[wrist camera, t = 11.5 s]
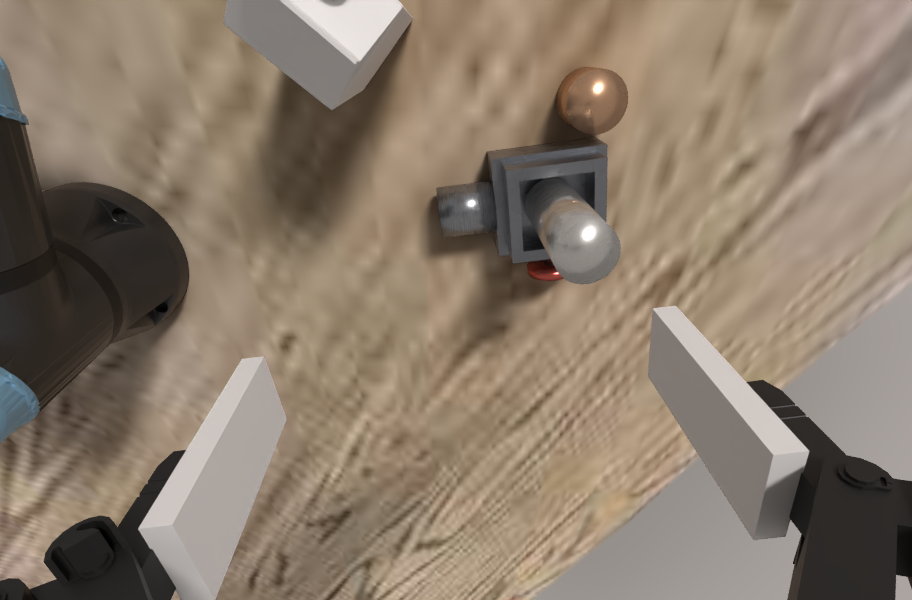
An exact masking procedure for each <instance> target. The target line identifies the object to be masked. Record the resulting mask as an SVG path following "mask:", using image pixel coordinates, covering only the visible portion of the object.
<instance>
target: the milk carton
mask: <svg viewBox="0 0 912 600" xmlns="http://www.w3.org/2000/svg"><path fill="white" fill-rule="evenodd" d="M412 20H413V17H412V16H411V15H410V14H409V12H408V11H407V10H406V9H405V7H404V6H403V5H402V4H401V3H400V2H399V1H398V0H227V5H226V10H225V16H224V22H223V23H224V24H225V25H226V26H227V27H228V28H229V29H230V30H231V31H233V32H234V33H235V34H236V35H238V36H239V37H240V38H241V39H243V40H244V41H245V42H246V43H248V44H249V45H250V46H251V47H253V48H254V49H255V50H256V51H258V52H259V53H260V54H261V55H263V56H264V57H265V58H266V59H268V60H269V61H270V62H271V63H273V64H274V65H275V66H276V67H278V68H279V69H280V70H281V71H283V72H284V73H285V74H286V75H288V76H289V77H290V78H291V79H293V80H294V81H295V82H296V83H298V84H299V85H300V86H301V87H303V88H304V89H305V90H306V91H308V92H309V93H310V94H311V95H313V96H314V97H315V98H316V99H318V100H319V101H320V102H322V103H323V104H324V105H325V106H327V107H328V108H329V109H331V110H333V109H335V108H336V107H338V106H339V105H341V104H343V103H344V102H346V101H347V100H349V99H350V98H352V97H353V96H355V95H357V94H358V93H360V92H361V91H363V90H364V89H365V87H366V86H367V85H368V83H369V82H370V80H371V79H372V77H373V76H374V74H375V73H376V72H377V70H378V69H379V67H380V66H381V64H382V63H383V61H384V60H385V59H386V57H387V56H388V54H389V53H390V51H391V50H392V48H393V47H394V46H395V44H396V43H397V41H398V40H399V38H400V37H401V35H402V34H403V33H404V31H405V30H406V28H407V27H408V25H409V24H410V22H411V21H412Z"/></svg>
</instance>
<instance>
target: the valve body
mask: <svg viewBox="0 0 912 600" xmlns="http://www.w3.org/2000/svg"><path fill="white" fill-rule="evenodd" d="M487 157H488V168H489V180H490V181H485V182H477V183H469V184H462V185H454V186H446V187H438V188H436V189H437V200H438V208H439V216H440V223H441V230H442V236H443V238H447V237H455V236H463V235H471V234H478V233H486V232H494V236H495V244H496V247H497V251H498V254H499V256H504V255H510V257H511V260H512V263H513V264H514V263H522V262H528V264H527V268H528V274H529V276H530V277H532V278H534V279H537V280H543V281H554V280H560V279H564V278H563V277H562V276H561V275H560V274H559V273H558V271H557V270H556V268H555V266H554V264H553V262H552V260H551V259H550V257H549V255H548V253H547V251H546V249H545V248H544V246H543V244H542V242H541V240H540V238H539V236H538V235H537V233H536V231H535V229H534V227H533V225H532V223H531V222H530V220H529V218H528V216H527V214H526V210H525V201H526V197H527V195H528V193H529V191H530V190H531V189H532V187H533V186H534V185H536V184H537V183H538V182H540V181H542V180H545V179H549V178H557V179H561V180H564V181H566V182H567V183H568V184H569V185H570V186H571V187H572V188H573V189H574V190H575V191H576V192H577V193H578V194H579V195H580V196H581V197H582V198H583V199H584V200H585V201H586V202H587V203H588V204H589V205H590V206H591V207H592V208H593V210H594V211H595V212H596V213H597V214H598V215H599V216H600V217H601V218H602V219H603V220H604V221H605V222H606V208H607V144H606V143H604V142H602V141H601V140H599V139H597V138H596V137H595V138H588V139H580V140H572V141H565V142H557V143H549V144H542V145H534V146H526V147H519V148H511V149H503V150H496V151H488V152H487Z"/></svg>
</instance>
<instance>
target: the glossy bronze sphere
mask: <svg viewBox="0 0 912 600" xmlns="http://www.w3.org/2000/svg"><path fill="white" fill-rule="evenodd" d="M556 104H557V110H558V112H559V114H560V116H561V118H562V119H563V120H564V121H565V122H566V123H567V124H569V125H571V126H572V127H574V128H576V129H577V130H579V131H581V132H583V133H585V134H591V135H596V134H601V133H604V132H607V131H609V130H610V129H612V128H613V127H614V126H616V125H617V123H618V122H619V121H620V120H621V119H622V117H623V115H624V113H625V111H626V108H627V104H628V91H627V87H626V85H625V83H624V81H623V79H622V78H621V77H620V76H619V75H618V74H617V73H615V72H613V71H611V70H607V69H601V68H594V67H583V68H579V69H576V70H574V71H573V72H571V73H570V74H569V75H567V76H566V78H565V79H564V80H563V81H562V83H561V85H560V87H559V89H558V92H557V97H556Z"/></svg>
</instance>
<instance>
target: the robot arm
mask: <svg viewBox="0 0 912 600" xmlns="http://www.w3.org/2000/svg"><path fill="white" fill-rule="evenodd" d="M25 125H29V123H28V119H27V117H26V116H25V115H24V114H22V112H21V109H20V105H19V102H18V99H17V95H16V92H15V89H14V85H13V82H12V79H11V75H10V72H9V70H8V67H7V65H6V64H5V62H4V61H3V59H2V58H1V57H0V443H1V442H2V441H3V440H5V439H6V438H7V437H8V436H9V435H11V434H12V433H13V432H14V431H16V430H17V429H18V428H19V427H21V426H22V425H25V424H27V423H28V422H30V421H31V420H33V419H34V418H35V417H36V416H37V414H38V413H39V412H40V411H41V410H42V409H43V408H44V407H45V406H46V405H47V404H48V403H49V402H50V401H51V400H52V399H53V398H54V397H55V396H56V395H58V394H59V393H60V392H61V391H62V390H63V389H64V388H65V387H66V386H67V385H68V384H69V383H70V382H71V381H72V380H73V379H74V378H75V377H76V376H77V375H78V374H79V373H80V372H81V371H82V370H83V369H84V368H85V367H87V366H88V365H89V364H90V363H91V362H92V361H93V360H94V359H95V358H96V357H97V356H98V355H99V354H100V353H101V352H102V351H103V350H104V349H105V348H106V347H107V346H108V345H109V344H111V343H114V342H116V341H119V340H122V339H125V338H127V337H130V336H133V335H136V334H138V333H141V332H144V331H146V330H149V329H151V328H153V327H154V326H156V325H157V324H159V323H160V322H162V321H163V320H164V319H165V318H166V317H167V316H168V315H169V314H170V313H171V312H172V311H173V310H174V309H175V308H176V307H177V306H178V305H179V303H180V302H181V300H182V299H183V297H184V295H185V292H186V290H187V286H188V278H189V270H188V263H187V258H186V255H185V252H184V249H183V247H182V245H181V243H180V241H179V239H178V237H177V236H176V234H175V232H174V231H173V230H172V228H171V227H170V226H169V224H168V223H167V222H166V221H165V220H164V219H163V218H162V217H161V216H160V215H159V214H158V213H157V212H156V211H155V210H153V209H152V208H151V207H150V206H148V205H147V204H146V203H144V202H143V201H141V200H139V199H138V198H136V197H134V196H132V195H131V194H128V193H126V192H124V191H122V190H119V189H116V188H113V187H110V186H106V185H102V184H96V183H85V182H83V183H70V184H65V185H61V186H58V187H55V188H53V189H50V190H47V191H45V192H42V191H41V187H40V183H39V179H38V175H37V171H36V167H35V163H34V159H33V154H32V150H31V146H30V142H29V138H28V134H27V130H26V126H25ZM648 377H649V378H650V380H651V382H652V383H653V385H654V386H655V388H656V389H657V391H658V392H659V394H660V396H661V397H662V399H663V400H664V402H665V403H666V405H667V406H668V408H669V410H670V411H671V413H672V414H673V416H674V417H675V419H676V420H677V422H678V424H679V425H680V427H681V428H682V430H683V431H684V433H685V434H686V436H687V438H688V439H689V441H690V442H691V444H692V445H693V447H694V448H695V450H696V452H697V453H698V455H699V456H700V458H701V459H702V461H703V462H704V464H705V466H706V467H707V468H708V470H709V472H710V473H711V475H712V476H713V478H714V479H715V481H716V483H717V484H718V486H719V487H720V489H721V490H722V492H723V494H724V495H725V497H726V498H727V500H728V501H729V503H730V504H731V506H732V508H733V509H734V511H735V512H736V514H737V515H738V517H739V518H740V520H741V522H742V523H743V524H744V526H745V528H746V529H747V531H748V532H749V534H750V536H751V537H752V539H753V540H758V539H768V538H777V537H785V536H786V533H787V529H788V526H789V522H790V519H791V520H792V522H793V523H794V524H795V526H796V527H797V528H798V530H799V531H800V532H801V534H802V535H801V538H800V541H799V545H798V548H797V551H796V555H795V558H794V561H793V564H795V565H794V570H793V575H792V580H791V585H790V590H789V594H788V599H787V600H895V588H896V575H900V576H906V577H908V579H909V582H910V585H911V588H912V481H905V480H898V479H893V478H892V477H891V476H890V475H889V474H888V473H887V472H886V471H885V470H883V469H882V468H880V467H879V466H877V465H876V464H873V463H871V462H868V461H866V460H864V459H861V458H856V457H851V456H846V455H845V453H844V452H843V451H842V450H841V449H840V448H839V447H838V446H837V445H836V444H835V443H834V442H833V441H832V440H831V439H830V438H829V437H827V435H826V434H825V433H824V432H823V431H822V430H821V429H820V428H819V427H818V426H817V425H816V424H815V423H814V422H813V421H812V420H811V419H810V418H809V417H806V415H805V413H804V412H802V410H800V408H799V407H797V406H795V403H794V402H793V401H792V400H791V399H790V398H789V397H788V396H787V395H785V394H784V392H783V391H781V390H780V389H778V388H776V387H774V386H773V385H771V384H769V383H767V382H765V381H764V380H759V381H751V382H745V380H744V379H743V378H742V377H741V376H740V375H739V374H738V373H737V372H736V371H735V370H734V369H733V367H732V366H731V365H730V364H729V363H728V362H727V361H726V360H725V359H724V358H723V357H722V356H721V354H720V353H719V352H718V351H717V350H716V349H715V348H714V347H713V346H712V345H711V344H710V342H709V341H708V340H707V339H706V338H705V337H704V336H703V335H702V334H701V333H700V332H699V331H698V329H697V328H696V327H695V326H694V325H693V324H692V323H691V322H690V321H689V320H688V319H687V318H686V316H685V315H684V314H683V313H682V312H681V311H680V310H679V309H678V308H677V307H676V306H669V307H661V308H653V310H652V324H651V338H650V352H649V366H648ZM286 420H287V419H286V416H285V413H284V410H283V407H282V405H281V402H280V399H279V396H278V393H277V391H276V388H275V385H274V382H273V379H272V377H271V374H270V371H269V368H268V365H267V363H266V360H265V357H264V356H263V357H254V358H246V359H242V360H241V361H240V363H239V365H238V366H237V368H236V370H235V371H234V373H233V375H232V376H231V378H230V379H229V381H228V383H227V384H226V386H225V388H224V389H223V391H222V393H221V394H220V396H219V397H218V399H217V401H216V402H215V404H214V406H213V407H212V409H211V410H210V412H209V414H208V415H207V417H206V419H205V420H204V422H203V424H202V425H201V427H200V428H199V430H198V432H197V433H196V435H195V437H194V438H193V440H192V442H191V443H190V445H189V446H188V448H187V450H182V451H174V452H173V453H172V454H171V455H169V456H168V457H167V458H166V459H165V460H164V461H163V462H162V463H161V464H159V465H158V467H157V468H156V470H155V471H154V473H153V474H152V476H151V477H150V479H149V480H148V484H146V485H145V486H144V488H143V489H142V491H141V492H140V496H139V497H137V499H136V500H135V502H134V503H133V505H132V506H131V508H130V509H129V511H128V512H127V514H126V515H125V517H124V518H123V520H122V521H121V523H120V524H119V526H118V528H117V526H116V525H115V523H114V522H113V521H112V520H111V518H110V517H105V516H97V517H92V518H88V519H86V520H83V521H81V522H79V523H77V524H75V525H73V526H72V527H70V528H69V529H67V530H66V531H64V532H63V533H62V534H61V535H60V536H59V537H58V538H57V539H56V540H55V541H53V542H52V544H51V545H50V547H49V548H48V550H47V552H46V553H45V558H44V563H45V564H46V566H47V567H48V568H49V570H50V571H51V572H52V573H53V575H54V576H55V577H56V578H57V579H56V580H53V581H50V582H48V583H45V584H43V585H40V586H37V587H35V588H32V589H29V588H28V587H27V586H26V585H25V584H24V583H23V582H22V581H21V580H20V579H11V578H8V579H5V580H2V581H0V600H171V598H172V596H173V594H174V591H175V590H176V591H177V593H178V595H179V596H180V598H181V600H215V599H216V597H217V594H218V592H219V589H220V587H221V584H222V582H223V579H224V577H225V574H226V572H227V569H228V567H229V564H230V562H231V559H232V556H233V554H234V551H235V549H236V546H237V544H238V541H239V539H240V536H241V534H242V531H243V529H244V526H245V524H246V521H247V518H248V516H249V513H250V511H251V508H252V506H253V503H254V501H255V498H256V496H257V493H258V491H259V488H260V486H261V483H262V480H263V478H264V475H265V473H266V470H267V468H268V465H269V463H270V460H271V458H272V455H273V453H274V450H275V448H276V445H277V442H278V440H279V437H280V435H281V432H282V430H283V427H284V425H285V422H286Z"/></svg>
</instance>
